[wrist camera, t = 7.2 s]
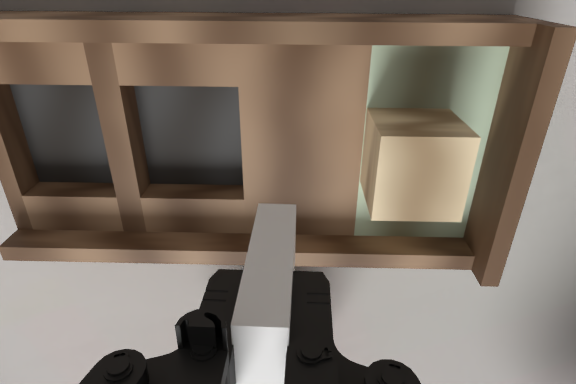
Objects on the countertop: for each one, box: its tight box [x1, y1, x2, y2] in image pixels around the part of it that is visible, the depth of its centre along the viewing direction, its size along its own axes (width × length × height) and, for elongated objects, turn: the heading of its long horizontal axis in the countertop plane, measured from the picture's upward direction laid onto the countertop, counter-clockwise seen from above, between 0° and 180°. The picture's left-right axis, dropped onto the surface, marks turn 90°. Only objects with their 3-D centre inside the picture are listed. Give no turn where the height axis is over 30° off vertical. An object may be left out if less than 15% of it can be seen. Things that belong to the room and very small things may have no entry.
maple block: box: [360, 108, 481, 222], centre depth 22 cm, size 4×4×4 cm
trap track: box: [0, 11, 576, 287], centre depth 24 cm, size 30×14×6 cm, turn 90°
